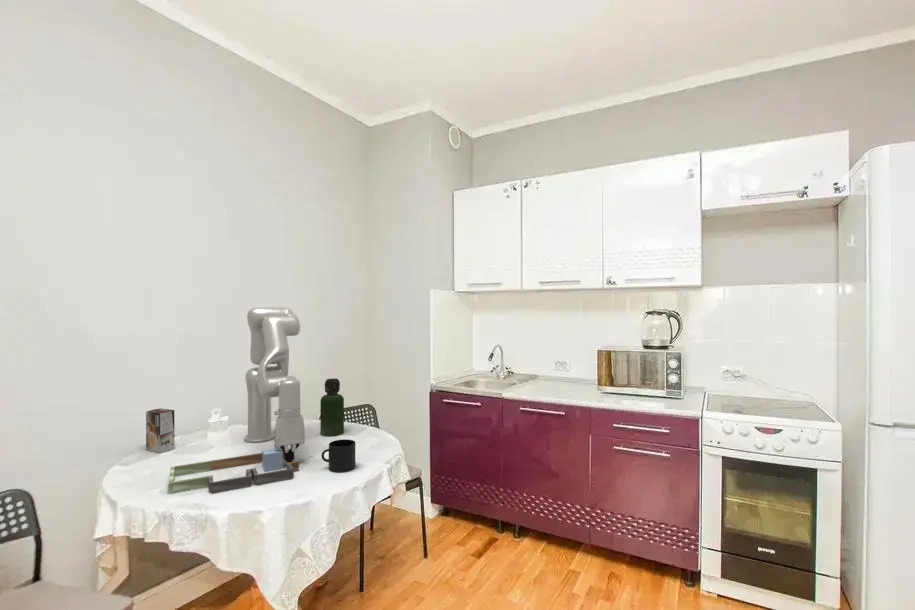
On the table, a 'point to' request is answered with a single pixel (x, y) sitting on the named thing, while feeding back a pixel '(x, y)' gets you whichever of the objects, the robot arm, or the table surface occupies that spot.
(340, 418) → the green bottle
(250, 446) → the table surface
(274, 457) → the block
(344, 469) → the mug
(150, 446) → the coffee box
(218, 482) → the trap box
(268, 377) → the robot arm
